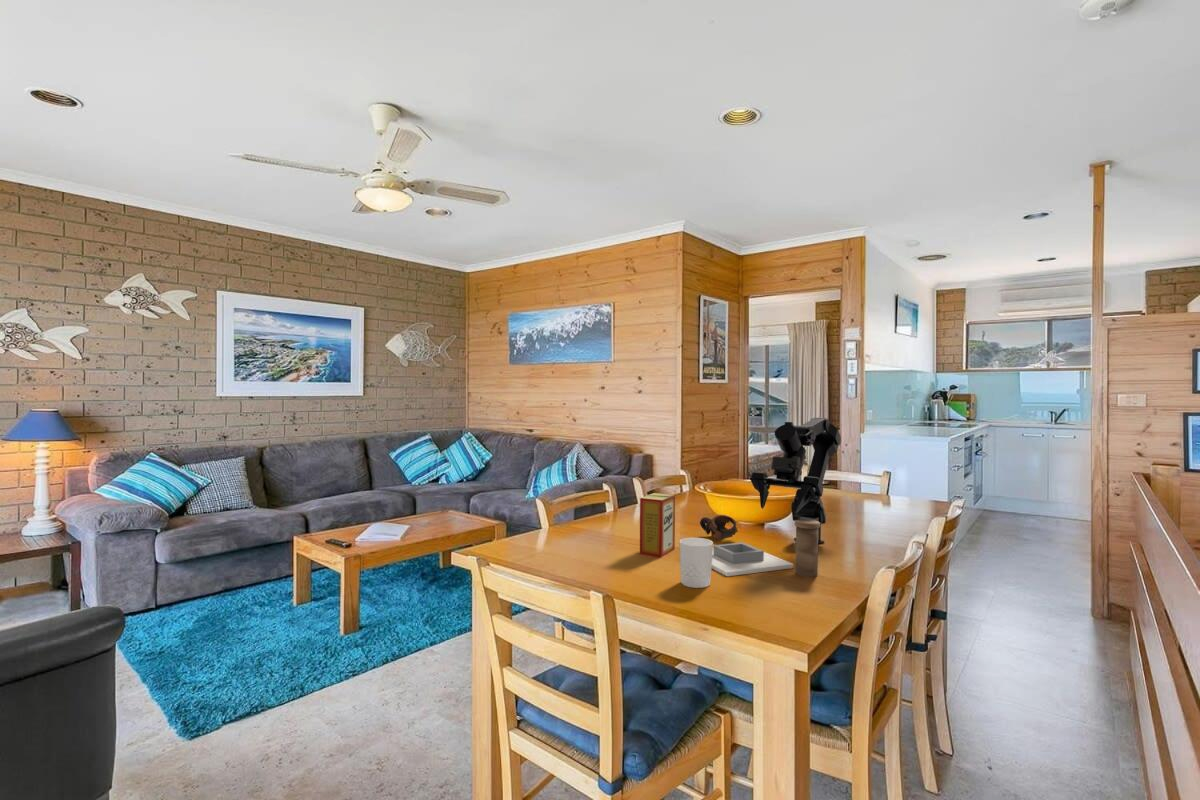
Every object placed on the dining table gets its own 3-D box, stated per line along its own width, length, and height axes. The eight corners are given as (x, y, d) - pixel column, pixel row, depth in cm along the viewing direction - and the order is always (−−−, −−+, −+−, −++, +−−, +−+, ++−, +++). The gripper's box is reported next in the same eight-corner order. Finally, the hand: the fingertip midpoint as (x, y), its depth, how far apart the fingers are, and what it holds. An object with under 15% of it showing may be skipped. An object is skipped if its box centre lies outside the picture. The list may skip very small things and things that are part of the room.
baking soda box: (661, 557, 164) (661, 499, 164) (639, 554, 167) (640, 496, 167) (674, 549, 172) (675, 493, 172) (653, 546, 176) (654, 491, 175)
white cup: (689, 576, 148) (690, 535, 148) (718, 583, 143) (719, 541, 143) (672, 584, 142) (672, 542, 142) (701, 591, 137) (702, 547, 137)
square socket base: (747, 548, 174) (747, 536, 174) (793, 567, 155) (793, 554, 155) (686, 555, 166) (686, 542, 166) (727, 576, 148) (727, 562, 148)
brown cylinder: (808, 568, 154) (808, 518, 154) (824, 575, 149) (825, 523, 148) (788, 571, 152) (789, 520, 152) (805, 578, 147) (805, 525, 146)
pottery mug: (738, 537, 189) (742, 517, 184) (729, 557, 182) (733, 537, 177) (702, 524, 193) (705, 504, 189) (691, 542, 186) (694, 523, 182)
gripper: (752, 443, 169) (736, 489, 161) (819, 447, 158) (807, 496, 150) (762, 466, 176) (748, 511, 168) (828, 472, 165) (816, 520, 157)
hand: (778, 509), depth 160 cm, fingers open, 9 cm apart
